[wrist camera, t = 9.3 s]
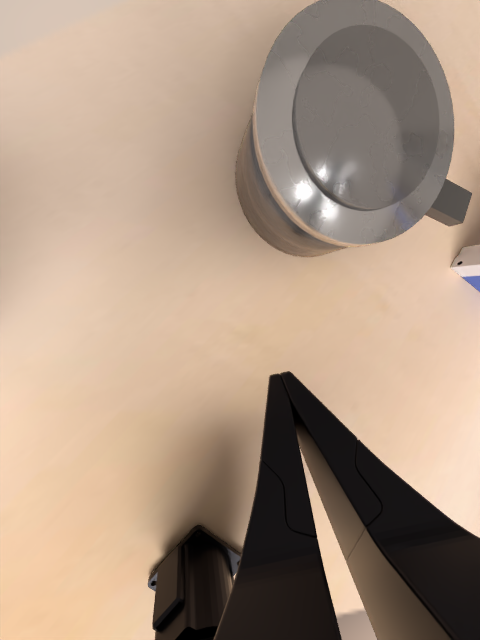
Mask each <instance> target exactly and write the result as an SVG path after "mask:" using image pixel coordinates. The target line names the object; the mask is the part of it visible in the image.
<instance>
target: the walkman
mask: <svg viewBox="0 0 480 640" xmlns="http://www.w3.org/2000/svg"><path fill="white" fill-rule="evenodd" d="M450 268H451V269H453V270H454V271H455V272H456V273H457V274H458V275H460V276H461V277H462V278H464V279H465V280H466V281H467V282H468V283H470V284H471V285H472V286H473V287H475V288H476V289H477V290H478V291H479V292H480V244H479V245H473V246H468V247H462V249H461V251H460V253H459V255H458V257H456V258H455V260H454V261H453V263H452V265H451V267H450Z"/></svg>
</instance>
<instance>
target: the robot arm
mask: <svg viewBox="0 0 480 640" xmlns="http://www.w3.org/2000/svg"><path fill="white" fill-rule="evenodd" d="M299 446H300V448H299ZM300 449H301V451H302V453H303V456H304V458H305V461H306V463H307V466H308V468H309V471H310V473H311V476H312V478H313V481H314V483H315V486H316V488H317V491H318V493H319V496H320V498H321V501H322V503H323V506H324V508H325V511H326V513H327V516H328V518H329V520H330V523H331V525H332V528H333V530H334V533H335V535H336V538H337V540H338V543H339V545H340V548H341V550H342V553H343V555H344V558H345V560H346V563H347V565H348V568H349V570H350V573H351V575H352V578H353V580H354V583H355V585H356V588H357V590H358V593H359V595H360V598H361V600H362V602H363V605H364V607H365V610H366V612H367V615H368V617H369V620H370V622H371V625H372V627H373V630H374V632H375V635H376V637H377V640H480V538H479V537H477V536H475V535H474V534H472V533H470V532H469V531H467V530H466V529H464V528H463V527H461V526H460V525H458V524H457V523H455V522H454V521H453V520H451V519H450V518H449V517H447V516H446V515H445V514H444V513H442V512H441V511H440V510H439V509H437V508H436V507H435V506H434V505H433V504H431V503H430V502H429V501H428V500H427V499H425V498H424V497H423V496H422V495H421V494H419V493H418V492H417V491H416V490H415V489H413V488H412V487H411V486H410V485H409V484H407V483H406V482H405V481H404V480H403V479H401V478H400V477H399V476H398V475H397V474H395V473H394V472H393V471H392V470H391V469H390V468H389V467H387V466H386V465H385V464H384V463H383V462H382V461H381V460H380V459H378V458H377V457H376V456H375V455H374V454H373V453H372V452H371V451H370V450H369V449H368V448H367V447H366V446H365V445H364V444H363V443H362V442H361V441H360V440H357V437H356V436H355V435H354V434H353V433H352V432H351V431H350V430H349V429H348V428H347V427H346V426H345V425H344V424H343V423H342V422H341V421H340V420H339V419H338V418H337V417H336V416H335V415H334V414H333V413H332V412H331V411H330V410H329V409H328V408H327V407H326V406H325V405H324V404H323V403H322V402H320V401H319V400H318V399H317V398H316V397H315V396H314V395H313V394H312V393H311V392H310V391H309V390H308V389H307V388H306V387H305V386H304V385H303V384H302V383H301V382H300V381H299V380H298V379H297V378H296V377H295V376H294V375H293V374H292V373H291V372H289V371H288V372H283V373H280V374H273V375H270V377H269V385H268V394H267V403H266V412H265V421H264V429H263V438H262V447H261V456H260V464H259V473H258V480H257V486H256V492H255V497H254V502H253V507H252V511H251V516H250V520H249V524H248V528H247V533H246V537H245V541H244V545H243V550H242V554H241V553H239V552H238V551H236V550H235V549H234V548H232V547H231V546H229V545H228V544H227V543H225V542H224V541H222V540H221V539H219V538H218V537H217V536H215V535H214V534H212V533H211V532H210V531H208V530H207V529H205V528H204V527H203V526H201V525H198V526H196V527H194V528H193V529H192V530H191V532H190V533H189V534H188V535H187V536H186V537H185V538H184V539H183V540H182V541H181V543H180V544H179V545H178V546H177V547H176V548H175V549H174V550H173V551H172V552H171V553H170V554H169V555H168V556H167V558H166V559H165V560H164V561H163V562H162V563H161V564H160V565H159V566H158V568H157V569H156V570H155V571H154V572H153V573H152V574H151V575H150V577H149V579H148V587H149V588H151V589H152V590H154V591H156V593H155V603H154V613H153V630H155V631H156V632H155V640H342V639H341V635H340V631H339V627H338V623H337V619H336V615H335V611H334V607H333V603H332V599H331V595H330V591H329V587H328V583H327V579H326V575H325V571H324V567H323V562H322V558H321V553H320V548H319V544H318V539H317V534H316V529H315V523H314V518H313V513H312V508H311V503H310V498H309V493H308V488H307V483H306V478H305V473H304V468H303V463H302V458H301V453H300ZM197 532H199V533H197ZM235 574H236V577H235V580H234V577H233V576H234V575H235Z"/></svg>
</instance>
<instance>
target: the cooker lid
mask: <svg viewBox="0 0 480 640" xmlns="http://www.w3.org/2000/svg"><path fill="white" fill-rule="evenodd" d="M253 138H254V145H255V152H256V156H257V160H258V163H259V167H260V170H261V172H262V175H263V178H264V180H265V183H266V185H267V187H268V188H269V190H270V192H271V194H272V196H273V198H274V199H275V200H276V202H277V203H278V205H279V206H280V208H281V209H282V210H283V211H284V212H285V214H286V215H287V216H288V217H289V218H290V219H291V220H292V221H293V222H294V223H295V224H296V225H298V226H299V227H300V228H301V229H302V230H304V231H305V232H307V233H308V234H310V235H311V236H313V237H315V238H317V239H320V240H322V241H324V242H327V243H330V244H334V245H338V246H345V247H360V246H366V245H371V244H375V243H379V242H382V241H386V240H389V239H392V238H394V237H396V236H398V235H400V234H402V233H404V232H405V231H407V230H408V229H409V228H411V227H412V226H414V225H415V224H416V223H417V222H418V221H419V220H420V219H421V218H422V217H423V216H424V215H425V213H426V212H427V211H428V210H429V209H430V207H431V206H432V204H433V203H434V201H435V200H436V198H437V196H438V194H439V192H440V190H441V188H442V186H443V184H444V181H445V179H446V176H447V173H448V170H449V166H450V162H451V157H452V151H453V143H454V114H453V106H452V99H451V95H450V90H449V86H448V83H447V80H446V77H445V74H444V71H443V69H442V67H441V64H440V62H439V60H438V58H437V56H436V54H435V52H434V51H433V49H432V47H431V45H430V44H429V43H428V41H427V40H426V38H425V37H424V36H423V34H422V33H421V32H420V31H419V30H418V29H417V27H416V26H415V25H414V24H413V23H412V22H411V21H410V20H409V19H407V18H406V17H405V16H404V15H403V14H401V13H400V12H399V11H397V10H395V9H394V8H392V7H391V6H389V5H387V4H385V3H383V2H380V1H378V0H320V1H318V2H316V3H314V4H312V5H310V6H308V7H306V8H305V9H304V10H302V11H301V12H300V13H298V14H297V15H296V16H295V17H294V18H293V19H292V20H291V21H290V22H289V23H288V24H287V25H286V26H285V27H284V29H283V30H282V32H281V33H280V34H279V36H278V37H277V39H276V40H275V42H274V44H273V46H272V48H271V50H270V52H269V54H268V57H267V60H266V63H265V66H264V68H263V71H262V74H261V77H260V80H259V83H258V86H257V90H256V95H255V100H254V108H253Z"/></svg>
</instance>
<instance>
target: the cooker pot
mask: <svg viewBox="0 0 480 640" xmlns="http://www.w3.org/2000/svg"><path fill="white" fill-rule="evenodd" d="M235 175H236V188H237V194H238V197H239V201H240V204H241V207H242V209H243V212H244V214H245V216H246V218H247V219H248V221H249V223H250V224H251V226H252V227H253V228H254V230H255V231H256V232H257V233H258V234H259V235H260V237H261V238H262V239H264V240H265V241H266V242H267V243H268V244H270V245H271V246H273V247H274V248H276V249H278V250H280V251H282V252H284V253H287V254H290V255H294V256H300V257H314V256H320V255H323V254H327V253H330V252H333V251H337V250H340V249H343V248H346V247H345V246H338V245H334V244H330V243H327V242H324V241H322V240H320V239H317V238H315V237H313V236H311V235H310V234H308V233H307V232H305V231H304V230H302V229H301V228H300V227H299V226H298V225H296V224H295V223H294V222H293V221H292V220H291V219H290V218H289V217H288V216H287V215H286V214H285V212H284V211H283V210H282V209H281V208H280V206H279V205H278V203H277V202H276V200H275V199H274V198H273V196H272V194H271V192H270V190H269V188H268V187H267V185H266V183H265V180H264V178H263V175H262V172H261V170H260V167H259V163H258V160H257V156H256V152H255V145H254V138H253V113H252V116H251V119H250V121H249V124H248V127H247V130H246V132H245V135H244V138H243V140H242V143H241V146H240V149H239V152H238V156H237V161H236V172H235ZM471 195H472V193H471V192H469V191H467V190H465V189H464V188H462V187H460V186H458V185H456V184H454V183H453V182H451V181H449V180H447V179H445V181H444V184H443V186H442V188H441V190H440V192H439V194H438V196H437V198H436V200H435V201H434V203H433V204H432V206H431V207H430V209H429V210H428V211H427V212H426V213H425V215H426V216H429V217H431V218H433V219H435V220H437V221H439V222H441V223H443V224H445V225H447V226H453V225H457V224H461V223H463V221H464V218H465V215H466V211H467V208H468V205H469V202H470V198H471Z"/></svg>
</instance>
